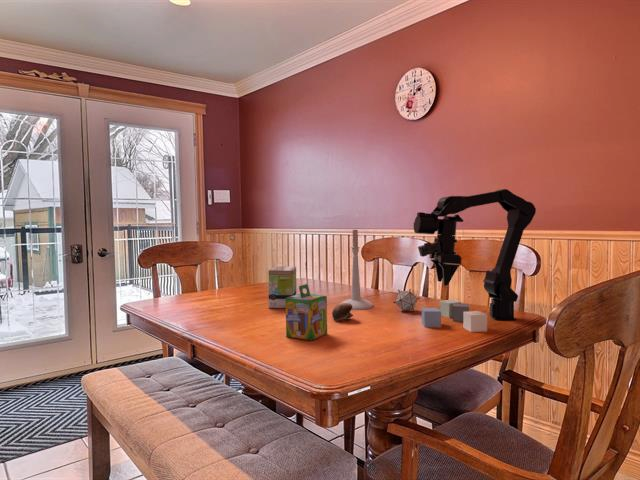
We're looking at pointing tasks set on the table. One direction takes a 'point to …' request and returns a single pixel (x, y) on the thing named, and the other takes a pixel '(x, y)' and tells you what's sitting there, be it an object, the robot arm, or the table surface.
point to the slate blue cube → (431, 317)
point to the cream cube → (475, 321)
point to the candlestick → (356, 280)
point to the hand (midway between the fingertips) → (442, 283)
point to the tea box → (281, 285)
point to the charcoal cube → (459, 311)
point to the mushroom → (342, 311)
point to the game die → (406, 300)
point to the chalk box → (306, 315)
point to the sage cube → (447, 308)
